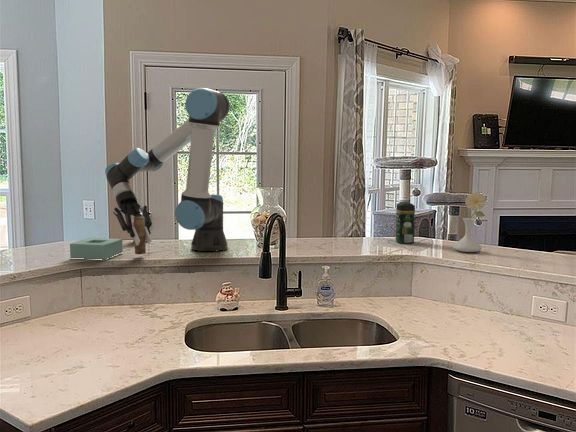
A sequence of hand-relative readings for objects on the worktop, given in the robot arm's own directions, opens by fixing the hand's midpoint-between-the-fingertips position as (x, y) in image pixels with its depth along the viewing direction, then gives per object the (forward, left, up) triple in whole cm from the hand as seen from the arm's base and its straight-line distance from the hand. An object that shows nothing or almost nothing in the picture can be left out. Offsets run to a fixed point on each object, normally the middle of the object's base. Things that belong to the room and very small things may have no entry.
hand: (144, 242), depth 206 cm
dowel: (+3, -2, -5) cm, 6 cm away
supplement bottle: (+19, -35, -7) cm, 41 cm away
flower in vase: (-124, -43, -7) cm, 132 cm away
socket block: (+20, 0, -6) cm, 21 cm away
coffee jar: (-98, -60, -7) cm, 115 cm away
